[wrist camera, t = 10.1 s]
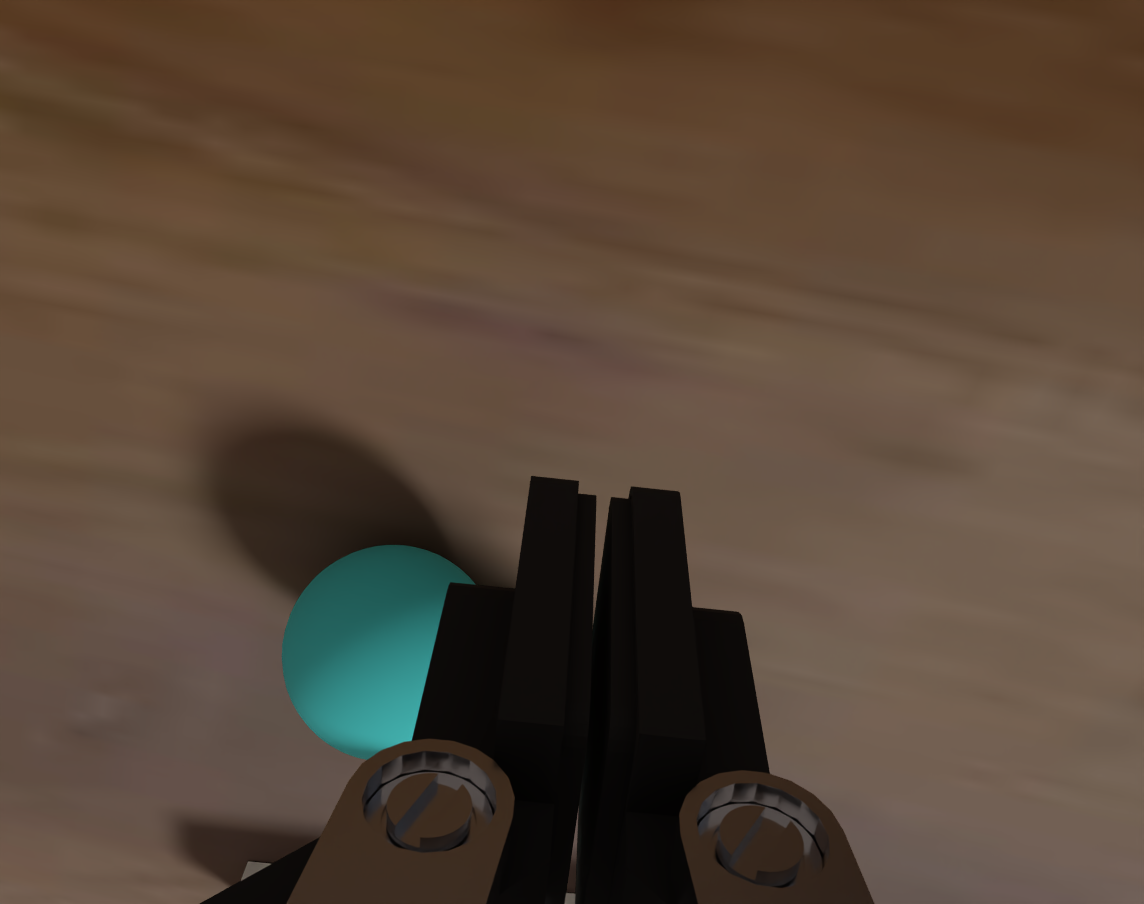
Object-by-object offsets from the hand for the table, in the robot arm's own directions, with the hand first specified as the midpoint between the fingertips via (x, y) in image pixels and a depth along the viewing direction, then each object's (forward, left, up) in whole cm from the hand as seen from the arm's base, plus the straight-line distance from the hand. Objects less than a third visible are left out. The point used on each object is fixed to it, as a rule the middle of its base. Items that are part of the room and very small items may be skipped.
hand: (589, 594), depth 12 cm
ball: (+12, +6, -14) cm, 19 cm away
